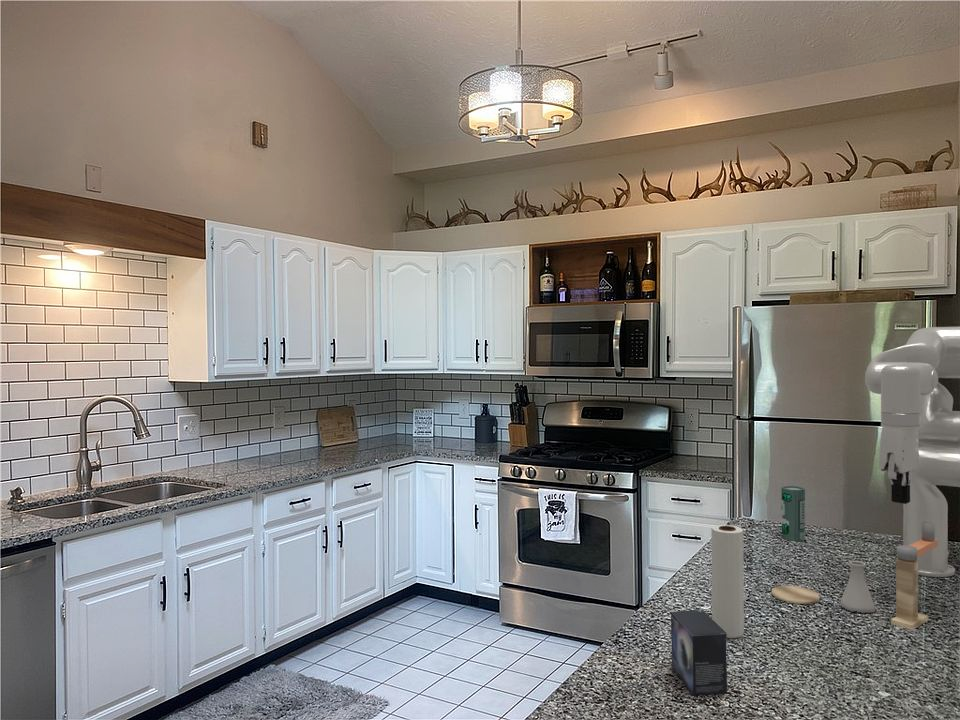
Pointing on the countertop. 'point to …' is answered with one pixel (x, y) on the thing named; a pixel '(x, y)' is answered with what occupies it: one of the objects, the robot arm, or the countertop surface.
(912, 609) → the post
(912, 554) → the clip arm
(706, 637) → the small box
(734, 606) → the paper towel roll
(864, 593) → the flask
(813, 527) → the countertop surface
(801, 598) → the coaster
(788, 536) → the can
